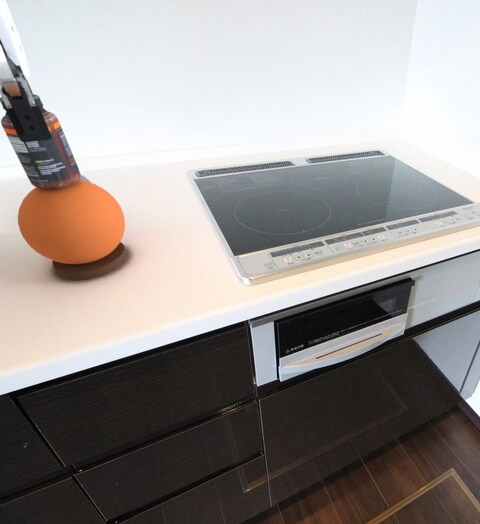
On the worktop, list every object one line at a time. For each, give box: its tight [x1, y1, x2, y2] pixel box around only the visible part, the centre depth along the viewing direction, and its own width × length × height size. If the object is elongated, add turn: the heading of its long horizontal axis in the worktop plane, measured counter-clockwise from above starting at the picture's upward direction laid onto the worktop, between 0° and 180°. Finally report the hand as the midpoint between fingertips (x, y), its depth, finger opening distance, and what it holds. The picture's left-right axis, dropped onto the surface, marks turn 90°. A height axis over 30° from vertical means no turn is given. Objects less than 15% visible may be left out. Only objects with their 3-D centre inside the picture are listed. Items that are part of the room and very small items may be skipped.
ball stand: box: [17, 180, 128, 281], centre depth 56 cm, size 13×13×14 cm
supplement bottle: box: [0, 93, 82, 189], centre depth 48 cm, size 6×6×11 cm
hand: (35, 132), depth 48 cm, fingers closed on supplement bottle, 6 cm apart
